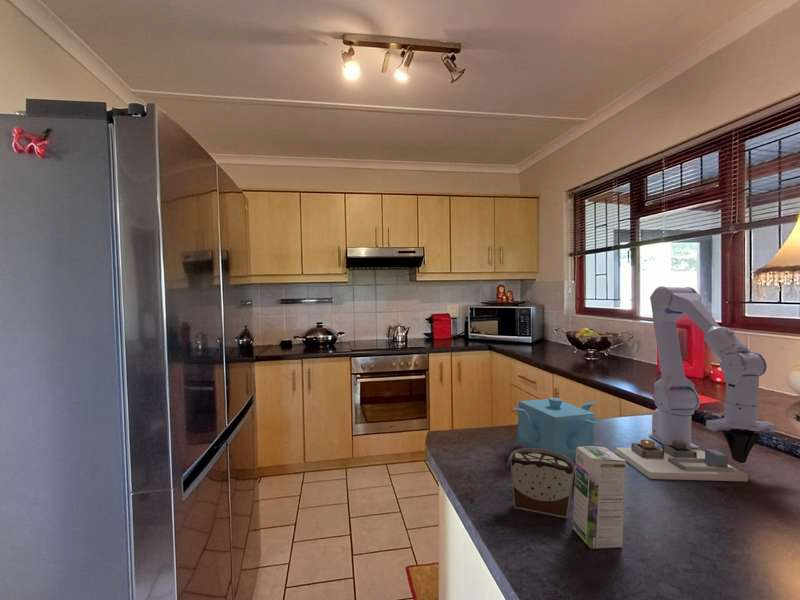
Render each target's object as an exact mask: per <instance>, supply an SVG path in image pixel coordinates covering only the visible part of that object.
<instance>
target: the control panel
mask: <svg viewBox="0 0 800 600" xmlns="http://www.w3.org/2000/svg"><path fill="white" fill-rule="evenodd" d="M640 444H641V442H640V443H637V442H635V443H632V442H631V447H615V453H614V454H616V455H617V456H619V457H620V458H621V459H624V460H626V463H627V464H630V465H631V466H632V467H633V468H635V469H636V470H637V471H639V472H640V473H642V475H644V476H645V477H647V478H648V479H650V480H676V481H677V480H679V481H680V480H681V481H683V480H684V481H686V480H687V481H712V482H713V481H719V482H720V481H721V482H723V481H724V482H748V481H749V474H747V473H746V472H743V471H742V470H740V469H738V468H736V467H734V466H732V465H730V464H728V467H714V466H712V465H710V464H708V463H706V462H705V450H701V449H692V448H688V447H687V451H678V450H675V449H673V448H672V444H662V448H659V447H658V446H656V445H655V450H645V449H643V448H641V447H640Z"/></svg>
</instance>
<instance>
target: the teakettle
mask: <svg viewBox="0 0 800 600" xmlns="http://www.w3.org/2000/svg"><path fill="white" fill-rule="evenodd" d="M595 404H596V402H594V401H593V402H592V401H589V402H585V403H583V404H582V405H580V407H579V406H577V405H573V404H572V403H568V402H566V401H563V399H561V398H558V397H549V398H543V399H531V400H519V401H518V407H515V408H512V410H513V411H514V412H516V413H517V440H516V442H518V443H519V444H521V445H522V446H524V447H525V448H539V449H546V450H550V451H554V452H557V453H560V454H562V455H564V456H566V457H568V458H569V459H571V460H572V461H573V462H574V464H576V448H577V447H584V446H595V441H596V439H595V438H596V425H597V424H599V421H596V413H594V412H592V411H589V410H590V409H591V407H593V406H594V405H595Z"/></svg>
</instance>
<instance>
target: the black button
mask: <svg viewBox="0 0 800 600" xmlns="http://www.w3.org/2000/svg"><path fill="white" fill-rule="evenodd" d="M672 448H673V449H675V450H678V451H687V443H685V442H682V441H677V440H673V441H672Z"/></svg>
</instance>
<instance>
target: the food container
mask: <svg viewBox="0 0 800 600" xmlns="http://www.w3.org/2000/svg"><path fill="white" fill-rule="evenodd" d="M507 460H508V461H507V466H509V464H510V473H511V484H512V485H511V488H512V496H513V497H512V499H513V508H514V509H517V510H523V511H528V512H533V513H539V514H544V515H549V516H552V517H553V516H554V517H559V518H564V519H568V517H569V515H568V514H569V509H570V502H571V497H572V490H573V483H574V478H575V466H576V463H574V462H573V461H572V460H571V459H569V458H568V457H566V456H564V455H562V454H560V453H557V452H554V451H550V450H546V449H539V448H527V447H523V448H522V447H521V448H517V449H516V450H515V449H514V451H512V452H511V453H510V455H509V457H508V459H507Z"/></svg>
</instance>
